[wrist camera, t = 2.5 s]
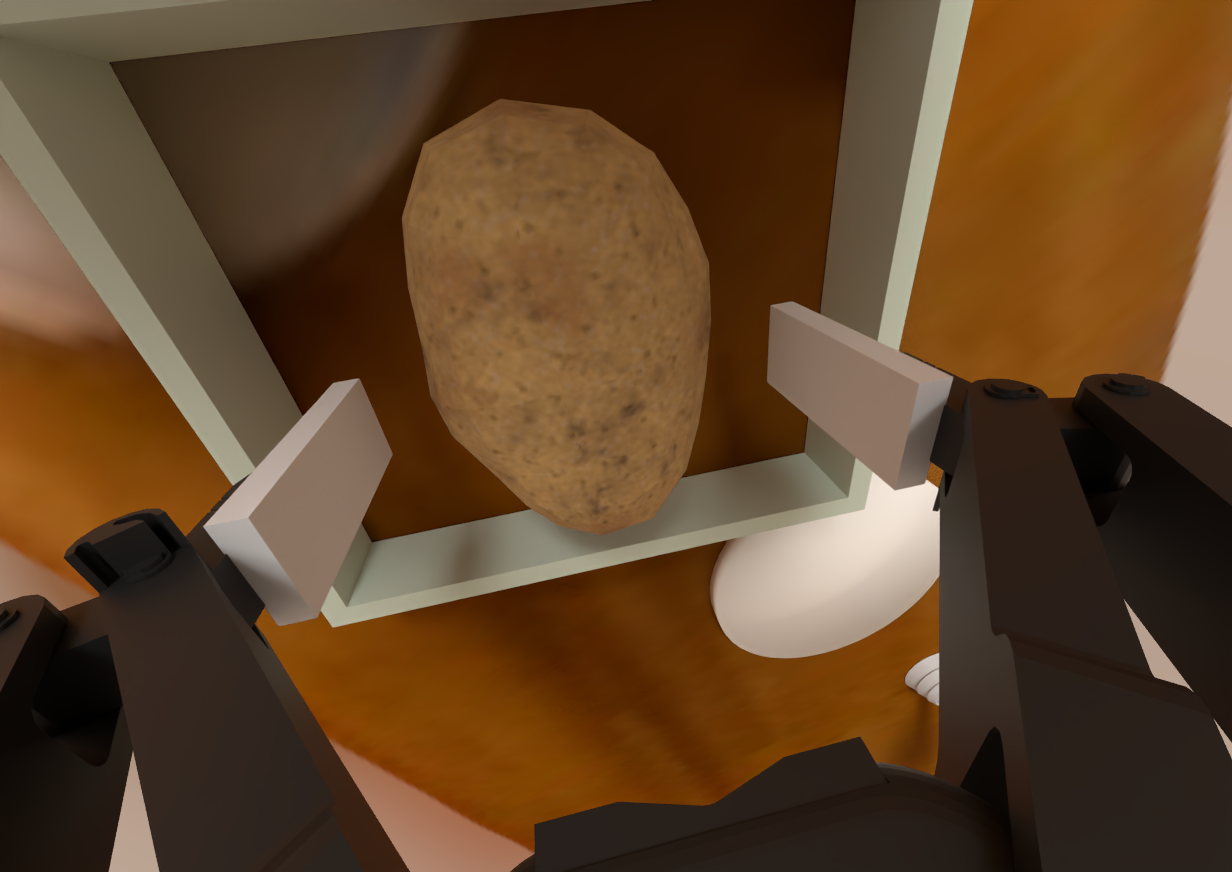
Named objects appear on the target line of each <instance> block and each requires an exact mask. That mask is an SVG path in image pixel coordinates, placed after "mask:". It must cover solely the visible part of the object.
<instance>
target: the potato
mask: <svg viewBox="0 0 1232 872" xmlns="http://www.w3.org/2000/svg"><path fill="white" fill-rule="evenodd" d="M402 227H403V238H404V248H405V259H406V270H407V281H408V290H409V294H410V298H411V303H412V307H413V311H414V315H415V320H416V324H417V328H418V333H419V337H420V341H421V346H422V351H423V356H424V362H425V368H426V373H427V379H428V385H429V390H430V396H431V398H432V400H433V402H434V403H435V405H436V407H437V409H438V411H439V413H440V415H441V416H442V418H443V420H444V422H445V424H446V426H447V427H448V429H449V431H450V433H451V435H452V437H453V438H455V439H456V440H457V441H458V442H459V443H460V444H461V445H462V446H463V447H465V448H466V449H467V450H468V451H469V452H470V453H471V454H472V455H473V456H475V457H476V458H477V459H478V460H479V461H480V462H481V463H482V464H483V465H485V466H486V467H487V468H488V469H489V470H490V471H491V472H492V473H493V474H495V475H496V476H497V477H498V478H499V479H500V480H501V481H502V482H503V483H504V484H505V485H506V486H507V487H508V488H509V489H510V490H511V491H512V492H513V493H514V494H515V495H516V496H517V497H518V498H519V499H520V500H521V501H522V502H523V503H524V504H525V505H526V506H528V507H530V508H531V509H533V510H534V511H536V512H538V513H539V514H541V515H542V516H544V517H546V518H547V519H549V520H550V521H552V522H554V523H555V524H557V525H558V526H561V527H566V528H571V529H575V530H580V531H585V532H590V533H594V534H599V535H605V534H608V533H611V532H614V531H617V530H620V529H623V528H626V527H629V526H631V525H634V524H637V523H640V522H643V521H646V520H649V519H652V518H654V516H655V515H656V513H657V512H658V511H659V509H660V508H661V506H662V505H663V503H664V502H665V500H666V499H667V498H668V496H669V495H670V493H671V492H672V490H673V489H674V487H675V486H676V484H677V483H678V482H679V480H680V479H681V477H682V476H683V474H684V473H685V471H686V470H687V466H688V462H689V458H690V455H691V451H692V447H693V444H694V440H695V436H696V432H697V429H698V425H699V419H700V413H701V406H702V400H703V393H704V387H705V380H706V371H707V361H708V350H709V340H710V330H711V304H710V277H709V261H708V259H707V256H706V253H705V251H704V248H703V246H702V243H701V240H700V238H699V235H698V233H697V230H696V227H695V225H694V222H693V220H692V217H691V215H690V212H689V209H688V207H687V206H686V204H685V202H684V201H683V199H682V197H681V196H680V194H679V193H678V191H677V189H676V188H675V186H674V184H673V183H672V181H671V180H670V178H669V176H668V175H667V173H666V171H665V170H664V168H663V167H662V165H661V163H660V162H659V160H658V159H657V157H656V155H655V153H654V152H653V151H651V150H649V149H648V148H646V147H645V146H643V145H641V144H640V143H638V142H637V141H635V140H634V139H632V138H631V137H630V136H628V135H627V134H625V133H624V132H622V131H621V130H619V129H618V128H616V127H615V126H613V125H612V124H610V123H609V122H608V121H606V120H605V119H603V118H602V117H600V116H599V115H597V114H596V113H594V112H593V111H591V110H586V109H579V108H571V107H563V106H555V105H547V104H539V103H531V102H523V101H515V100H507V99H499V100H497V101H495V102H493V103H492V104H490V105H488V106H487V107H485V108H483V109H481V110H480V111H478V112H476V113H475V114H473V115H471V116H469V117H468V118H466V119H464V120H463V121H461V122H459V123H457V124H456V125H454V126H452V127H451V128H449V129H447V130H445V131H444V132H442V133H440V134H439V135H437V136H435V137H433V138H432V139H430V140H428V141H427V142H425V143H423V147H422V150H421V153H420V157H419V160H418V164H417V167H416V171H415V174H414V178H413V181H412V185H411V188H410V191H409V195H408V198H407V202H406V205H405V209H404V212H403V216H402Z"/></svg>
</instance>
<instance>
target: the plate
mask: <svg viewBox="0 0 1232 872" xmlns="http://www.w3.org/2000/svg"><path fill="white" fill-rule="evenodd" d="M937 493H938V488H937V487H936V486H934V485H933V484H932V483H931V482H929V481H928V480H927V479H926V481H925V484H922V485H918V486H913V487H909V488H904V489H900V490H894V489H892V488H891V487H890V486H889V485H888V484H886V483H885V482H884V481H883V480H882V479H881V478H879V477H878V476H877V475H876V474H875V473H874V472H873V473H872V477H871V482H870V487H869V491H868V496H867V501H866V505H865V509H864V510H860V511H855V512H851V513H846V514H842V515H837V516H833V517H828V518H824V519H819V520H815V521H810V522H806V523H801V524H797V525H792V526H788V527H783V528H779V529H774V530H770V531H765V532H761V533H756V534H752V535H747V536H743V537H738V538H734V539H729V540H728V541H727V542H726V543H725V545H724V547H723V549H722V550H721V552H720V554H719V556H718V558H717V561H716V563H715V565H714V568H713V572H712V576H711V580H710V599H711V604H712V607H713V610H714V612H715V615H716V617H717V619H718V622H719V624H720V626H721V628H722V630H723V631H724V633H725V635H726V636H727V637H728V638H729V639H730V640H731V641H732V642H733V643H734V644H736V645H737V646H738V647H740V648H742V649H744V650H746V651H748V652H750V653H753V654H757V655H760V656H765V657H771V658H798V657H806V656H812V655H817V654H822V653H826V652H829V651H832V650H836V649H839V648H841V647H844V646H847V645H850V644H852V643H854V642H856V641H859V640H861V639H863V638H865V637H867V636H869V635H871V634H873V633H874V632H876V631H878V630H880V629H881V628H883V627H884V626H886V625H888V624H889V623H891V622H892V621H894V620H895V619H896V618H898V617H899V616H901V615H902V614H903V613H904V612H905V611H907V610H908V609H909V608H910V607H911V606H913V605H914V604H915V603H916V602H917V601H918V600H919V599H920V598H921V597H922V596H923V595H924V594H925V593H926V592H927V590H928V589H929V588H930V587H931V586H932V585H933V583H934V582H935V581H936V579H937V578H938V577H939V565H940V509H939V511H938V512H937V511H932V510H933V507H934V503H935V500H936V496H937Z"/></svg>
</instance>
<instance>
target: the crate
mask: <svg viewBox="0 0 1232 872" xmlns="http://www.w3.org/2000/svg"><path fill="white" fill-rule="evenodd" d="M642 1H650V0H0V155H1V157H2V158H3V159H4V161H5V162H6V164H7V165H8V167H9V168H10V169H11V171H12V172H13V174H14V175H15V177H16V178H17V179H18V181H19V182H20V184H21V185H22V186H23V188H24V189H25V191H26V192H27V194H28V195H29V196H30V198H31V199H32V201H33V202H34V204H35V205H36V206H37V208H38V209H39V211H40V212H41V213H42V215H43V216H44V218H45V219H46V221H47V222H48V223H49V225H50V226H51V228H52V229H53V231H54V232H55V233H56V235H57V236H58V238H59V239H60V241H61V242H62V243H63V245H64V246H65V248H66V249H67V250H68V252H69V253H70V255H71V256H72V258H73V259H74V260H75V262H76V263H77V265H78V266H79V268H80V269H81V270H82V272H83V273H84V275H85V276H86V277H87V279H88V280H89V282H90V283H91V285H92V286H93V287H94V289H95V290H96V292H97V293H98V295H99V296H100V297H101V299H102V300H103V302H104V303H105V304H106V306H107V307H108V309H109V310H110V312H111V313H112V314H113V316H114V317H115V319H116V320H117V322H118V323H119V324H120V326H121V327H122V329H123V330H124V331H125V333H126V334H127V336H128V337H129V339H130V340H131V341H132V343H133V344H134V346H135V347H136V349H137V350H138V351H139V353H140V354H141V356H142V357H143V358H144V360H145V361H146V363H147V364H148V366H149V367H150V368H151V370H152V371H153V373H154V374H155V376H156V377H157V378H158V380H159V381H160V383H161V384H162V385H163V387H164V388H165V390H166V391H167V393H168V394H169V395H170V397H171V398H172V400H173V401H174V403H175V404H176V405H177V407H178V408H179V410H180V411H181V413H182V414H183V415H184V417H185V418H186V420H187V421H188V422H189V424H190V425H191V427H192V428H193V430H194V431H195V432H196V434H197V435H198V437H199V438H200V440H201V441H202V442H203V444H204V445H205V447H206V448H207V449H208V451H209V452H210V454H211V455H212V457H213V458H214V459H215V461H216V462H217V464H218V465H219V467H220V468H221V469H222V471H223V472H224V474H225V475H226V476H227V478H228V479H229V481H230V482H231V484H232V485H234V484H236V483H237V482H239V481H240V480H242V479H243V478H244V477H246V476H247V475H249V474H250V473H252V472H253V471H254V470H255V469H256V468H257V467H258V465H259V464H260V463H261V462H262V461H263V460H264V459H265V458H266V457H267V455H268V454H269V453H270V452H271V451H272V450H273V449H274V448H275V447H276V446H277V444H278V443H279V442H280V441H281V440H282V439H283V438H284V437H285V436H286V435H287V433H288V432H289V431H290V430H291V429H292V428H293V427H294V426H295V425H296V424H297V422H298V421H299V420H300V419H301V418H302V417H303V416H302V414H301V412H300V410H299V408H298V407H297V405H296V403H295V401H294V399H293V397H292V396H291V394H290V392H289V390H288V388H287V387H286V385H285V383H284V381H283V379H282V377H281V376H280V374H279V372H278V370H277V368H276V366H275V365H274V363H273V361H272V359H271V357H270V355H269V354H268V352H267V350H266V348H265V346H264V345H263V343H262V341H261V339H260V337H259V335H258V334H257V332H256V330H255V328H254V326H253V324H252V323H251V321H250V319H249V317H248V315H247V314H246V312H245V310H244V308H243V306H242V304H241V303H240V301H239V299H238V297H237V295H236V293H235V292H234V290H233V288H232V286H231V284H230V283H229V281H228V279H227V277H226V275H225V273H224V272H223V270H222V268H221V266H220V264H219V262H218V261H217V259H216V257H215V255H214V253H213V251H212V250H211V248H210V246H209V244H208V242H207V241H206V239H205V237H204V235H203V233H202V231H201V230H200V228H199V226H198V224H197V222H196V220H195V219H194V217H193V215H192V213H191V211H190V210H189V208H188V206H187V204H186V202H185V200H184V199H183V197H182V195H181V193H180V191H179V189H178V188H177V186H176V184H175V182H174V180H173V178H172V177H171V175H170V173H169V171H168V169H167V168H166V166H165V164H164V162H163V160H162V158H161V157H160V155H159V153H158V151H157V149H156V147H155V146H154V144H153V142H152V140H151V138H150V137H149V135H148V133H147V131H146V129H145V127H144V126H143V124H142V122H141V120H140V118H139V116H138V115H137V113H136V111H135V109H134V107H133V106H132V104H131V102H130V100H129V98H128V96H127V95H126V93H125V91H124V89H123V87H122V85H121V84H120V82H119V80H118V78H117V76H116V74H115V73H114V71H113V69H112V67H111V65H110V64H109V62H115V61H123V60H132V59H141V58H150V57H159V56H167V55H176V54H185V53H194V52H202V51H211V50H220V49H229V48H238V47H246V46H255V45H264V44H273V43H282V42H290V41H299V40H308V39H317V38H325V37H334V36H343V35H352V34H361V33H369V32H378V31H387V30H396V29H405V28H413V27H422V26H431V25H440V24H448V23H457V22H466V21H475V20H484V19H492V18H501V17H510V16H519V15H528V14H536V13H545V12H554V11H563V10H571V9H580V8H589V7H598V6H607V5H615V4H624V3H633V2H642ZM972 5H973V0H856V4H855V13H854V21H853V30H852V39H851V48H850V56H849V65H848V74H847V83H846V91H845V100H844V109H843V118H842V126H841V135H840V144H839V153H838V161H837V170H836V179H835V188H834V196H833V205H832V214H831V223H830V231H829V240H828V249H827V258H826V267H825V275H824V284H823V293H822V302H821V310H820V314H821V315H823V316H825V317H827V318H829V319H831V320H833V321H835V322H838V323H840V324H842V325H844V326H846V327H848V328H850V329H853V330H855V331H857V332H859V333H861V334H863V335H865V336H867V337H870V338H872V339H874V340H876V341H878V342H880V343H882V344H884V345H887V346H889V347H891V348H893V349H895V350H897V351H899V346H900V342H901V337H902V332H903V328H904V323H905V318H906V314H907V309H908V304H909V300H910V295H911V290H912V286H913V281H914V276H915V272H916V267H917V262H918V258H919V253H920V248H921V243H922V239H923V234H924V229H925V225H926V220H927V215H928V211H929V206H930V201H931V197H932V192H933V187H934V183H935V178H936V173H937V169H938V164H939V159H940V155H941V150H942V145H943V141H944V136H945V131H946V127H947V122H948V117H949V113H950V108H951V103H952V99H953V94H954V89H955V85H956V80H957V75H958V70H959V66H960V61H961V56H962V52H963V47H964V42H965V38H966V33H967V28H968V24H969V19H970V14H971V10H972ZM872 473H873V472H872V471H871V470H870V469H869V468H868V467H866V466H865V465H864V464H863V463H862V462H861V461H859V460H858V459H857V458H856V457H855V456H853V455H852V454H851V453H850V452H849V451H848V450H846V449H845V448H844V447H843V446H842V445H841V444H839V443H838V442H837V441H836V440H835V439H833V438H832V437H831V436H830V435H829V434H828V433H826V432H825V431H824V430H823V429H822V428H821V427H819V426H818V425H817V424H816V423H815V422H813V421H812V420H811V419H810V418H809V417H808V424H807V433H806V442H805V450H804V453H800V454H795V455H790V456H785V457H780V458H775V459H771V460H766V461H761V462H756V463H751V464H747V465H742V466H737V467H732V468H727V469H723V470H718V471H713V472H708V473H703V474H699V475H694V476H689V477H684V478H681V479H680V480H679V482H678V483H677V484H676V486H675V487H674V489H673V490H672V492H671V493H670V495H669V496H668V498H667V499H666V500H665V502H664V503H663V505H662V506H661V508H660V509H659V511H658V512H657V513H656V515H655V516H654V518H652V519H649V520H646V521H643V522H640V523H637V524H634V525H631V526H629V527H626V528H623V529H620V530H617V531H614V532H611V533H608V534H605V535H599V534H594V533H590V532H585V531H580V530H575V529H571V528H566V527H561V526H558V525H557V524H555V523H554V522H552V521H550V520H549V519H547V518H546V517H544V516H542V515H541V514H539V513H538V512H536V511H534V510H533V509H530V510H525V511H521V512H516V513H511V514H506V515H501V516H497V517H492V518H487V519H482V520H477V521H473V522H468V523H463V524H458V525H453V526H448V527H444V528H439V529H434V530H429V531H424V532H420V533H415V534H410V535H405V536H400V537H396V538H391V539H386V540H381V541H376V542H371V540H370V538H369V536H368V534H367V532H366V531H365V529H364V527H363V525H362V523H361V524H360V526H359V528H358V531H357V533H356V535H355V537H354V539H353V541H352V544H351V546H350V548H349V550H348V552H347V554H346V557H345V559H344V561H343V563H342V565H341V567H340V569H339V572H338V574H337V576H336V578H335V580H334V582H333V585H332V587H331V589H330V591H329V593H328V595H327V598H326V600H325V602H324V604H323V606H322V608H321V612H322V613H323V614H324V616H325V617H326V619H327V620H328V621H329V623H330V624H331V626H332V627H338V626H342V625H347V624H351V623H356V622H360V621H365V620H369V619H374V618H378V617H383V616H387V615H392V614H396V613H401V612H405V611H410V610H414V609H419V608H423V607H428V606H432V605H437V604H441V603H446V602H450V601H455V600H459V599H464V598H468V597H473V596H477V595H482V594H486V593H491V592H495V591H500V590H504V589H509V588H513V587H518V586H522V585H527V584H531V583H536V582H540V581H545V580H549V579H554V578H558V577H563V576H567V575H572V574H576V573H581V572H585V571H590V570H594V569H599V568H603V567H608V566H612V565H617V564H621V563H626V562H630V561H635V560H639V559H644V558H648V557H653V556H657V555H662V554H666V553H671V552H675V551H680V550H684V549H689V548H693V547H698V546H702V545H707V544H711V543H716V542H720V541H725V540H729V539H734V538H738V537H743V536H747V535H752V534H756V533H761V532H765V531H770V530H774V529H779V528H783V527H788V526H792V525H797V524H801V523H806V522H810V521H815V520H819V519H824V518H828V517H833V516H837V515H842V514H846V513H851V512H855V511H860V510H864V509H865V505H866V501H867V496H868V491H869V487H870V482H871V477H872Z"/></svg>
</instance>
